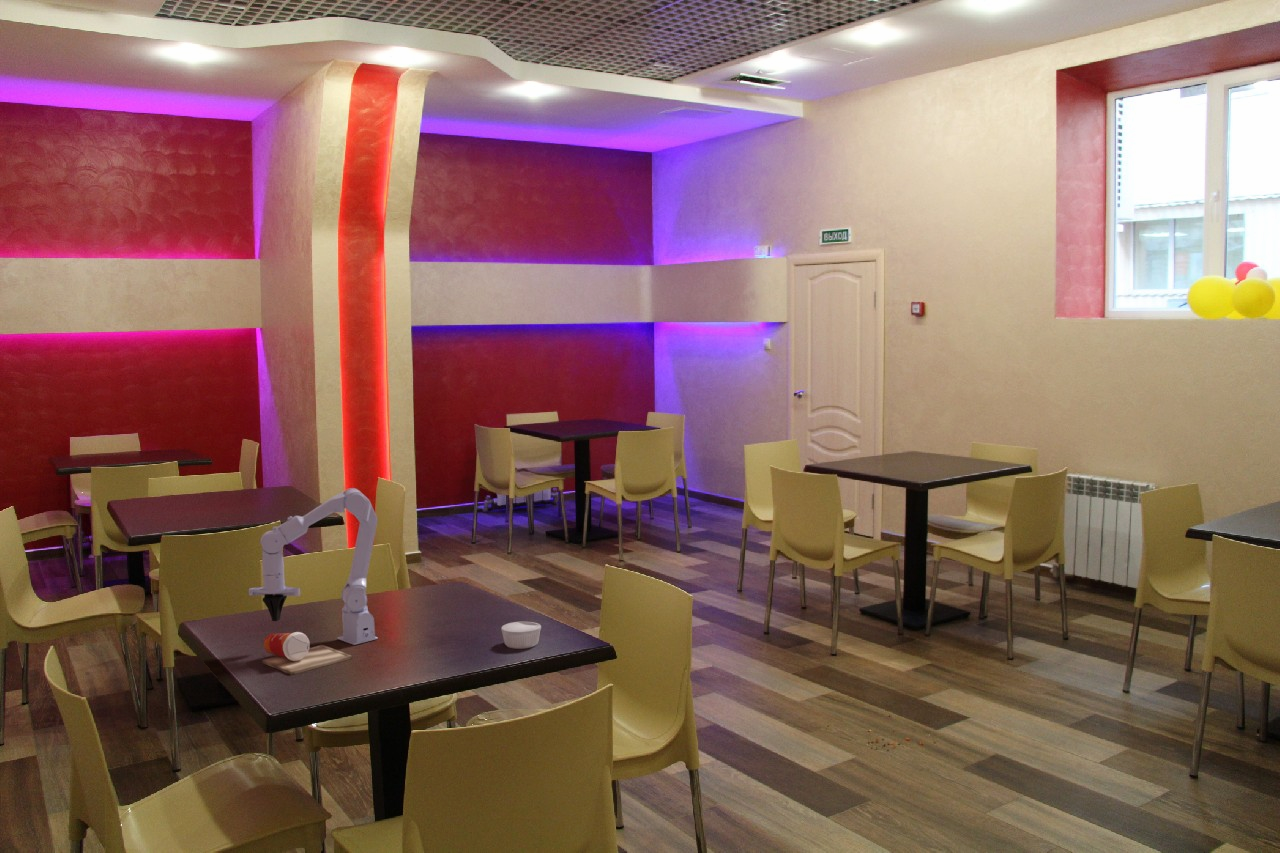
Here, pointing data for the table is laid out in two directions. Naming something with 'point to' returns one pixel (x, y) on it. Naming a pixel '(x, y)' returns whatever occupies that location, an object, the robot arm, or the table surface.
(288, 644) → the paper cup
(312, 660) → the birch board
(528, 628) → the ramekin
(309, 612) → the table surface
